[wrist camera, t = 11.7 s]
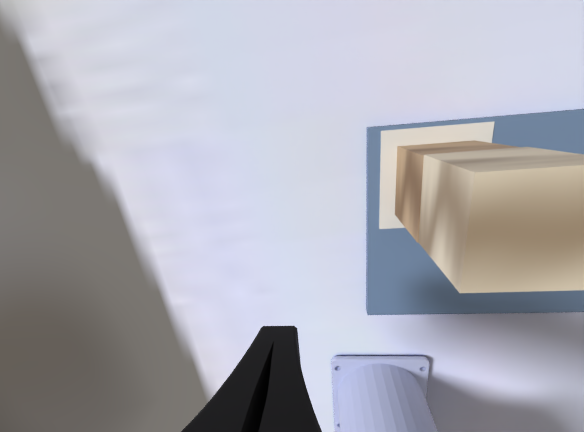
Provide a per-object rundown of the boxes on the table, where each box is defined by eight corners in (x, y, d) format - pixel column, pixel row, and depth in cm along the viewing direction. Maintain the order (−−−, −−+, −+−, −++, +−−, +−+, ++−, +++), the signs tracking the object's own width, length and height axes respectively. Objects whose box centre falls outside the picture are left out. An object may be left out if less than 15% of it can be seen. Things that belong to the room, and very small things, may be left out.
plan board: (579, 306, 21) (588, 312, 20) (366, 310, 22) (368, 315, 22) (641, 104, 16) (654, 103, 15) (366, 127, 18) (368, 127, 17)
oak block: (465, 210, 18) (510, 238, 14) (394, 214, 19) (417, 242, 15) (474, 140, 17) (527, 148, 13) (397, 146, 17) (423, 155, 13)
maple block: (511, 238, 14) (594, 289, 10) (418, 242, 15) (459, 293, 10) (527, 146, 13) (634, 161, 8) (423, 154, 13) (475, 172, 9)
